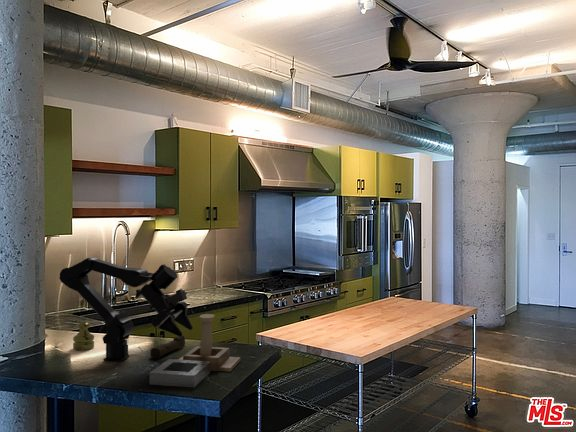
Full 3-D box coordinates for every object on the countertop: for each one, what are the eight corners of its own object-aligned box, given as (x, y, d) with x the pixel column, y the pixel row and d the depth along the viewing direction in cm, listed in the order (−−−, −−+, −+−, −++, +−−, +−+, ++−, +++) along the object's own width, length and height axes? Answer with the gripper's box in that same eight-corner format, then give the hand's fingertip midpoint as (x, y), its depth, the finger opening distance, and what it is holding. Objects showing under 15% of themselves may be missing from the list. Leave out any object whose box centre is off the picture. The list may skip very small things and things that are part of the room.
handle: (214, 358, 171) (215, 314, 171) (211, 363, 164) (212, 318, 164) (200, 357, 171) (201, 313, 171) (196, 363, 164) (198, 317, 164)
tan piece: (171, 367, 163) (171, 355, 163) (185, 357, 175) (185, 345, 175) (230, 371, 160) (230, 358, 160) (240, 360, 171) (240, 348, 171)
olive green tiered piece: (68, 350, 184) (68, 323, 184) (81, 345, 191) (81, 319, 191) (86, 351, 182) (86, 324, 182) (98, 346, 189) (98, 320, 189)
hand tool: (159, 360, 173) (159, 346, 173) (149, 358, 175) (150, 345, 175) (190, 347, 190) (190, 334, 190) (182, 345, 192) (182, 333, 192)
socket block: (149, 384, 148) (149, 372, 148) (169, 369, 161) (169, 359, 161) (194, 387, 145) (194, 375, 145) (210, 372, 159) (210, 361, 159)
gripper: (160, 286, 160) (192, 322, 158) (183, 278, 179) (212, 310, 177) (137, 309, 162) (169, 345, 160) (162, 299, 180) (190, 331, 178)
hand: (186, 332), depth 169 cm, fingers open, 9 cm apart
